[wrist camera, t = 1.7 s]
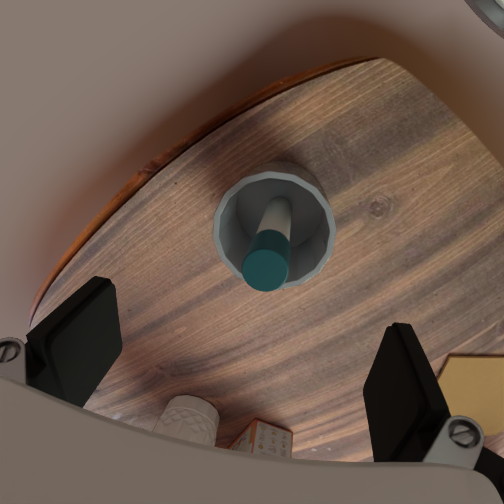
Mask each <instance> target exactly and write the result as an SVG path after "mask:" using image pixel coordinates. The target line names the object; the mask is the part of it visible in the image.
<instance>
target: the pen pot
mask: <svg viewBox="0 0 504 504" xmlns="http://www.w3.org/2000/svg"><path fill="white" fill-rule="evenodd" d="M275 197H283V198H285V199H287V200H288V201H289V202H290V204H291V206H292V214H291V227H290V239H289V243H290V263H289V274H288V278H287V280H286V282H285V283H284V284H283V285H282V286H281V287H280V288H278V290H279V289H284V288H288V287H293V286H298V285H301V284H302V283H304V282H305V281H307V280H309V279H310V278H312V277H313V276H315V275H316V274H318V273H319V272H320V271H321V269H322V268H323V266H324V265H325V263H326V262H327V260H328V259H329V258H330V256H331V255H332V251H333V246H334V241H335V236H336V226H335V222H334V217H333V213H332V209H331V206H330V204H329V201H328V199H327V197H326V194H325V192H324V190H323V188H322V186H321V185H320V184H319V182H318V181H317V179H316V178H315V177H314V176H313V174H311V173H310V172H309V171H307V170H306V169H304V168H303V167H301V166H299V165H297V164H294V163H290V162H284V161H273V162H268V163H265V164H262V165H259V166H256V167H255V168H254V169H252V170H251V171H250V172H249V173H247V174H246V175H245V176H244V177H242V178H241V179H240V180H239V181H238V182H237V183H236V184H235V185H233V186H232V187H231V188H230V189H229V190H228V191H227V192H226V193H225V194H224V196H223V198H222V200H221V202H220V204H219V205H218V207H217V209H216V211H215V214H214V224H213V239H214V242H215V245H216V248H217V251H218V253H219V256H220V258H221V260H222V261H223V262H224V263H225V264H226V266H227V267H228V268H229V269H230V270H231V271H232V273H233V274H234V275H235V276H237V277H239V278H241V279H242V280H244V278H243V275H242V271H241V266H242V262H243V260H244V257H245V255H246V252H247V250H248V247H249V245H250V243H251V240H252V238H253V237H254V236H255V235H256V233H257V230H258V228H259V225H260V223H261V220H262V218H263V215H264V212H265V210H266V207H267V205H268V203H269V201H270V200H271V199H273V198H275ZM244 281H245V280H244ZM276 290H277V289H276Z"/></svg>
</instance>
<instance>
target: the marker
mask: <svg viewBox="0 0 504 504" xmlns="http://www.w3.org/2000/svg"><path fill="white" fill-rule="evenodd" d="M291 214H292V206H291V204H290V202H289V201H288V200H287V199H285V198H283V197H275V198H273V199H271V200H270V201H269V203H268V205H267V207H266V210H265V212H264V215H263V218H262V220H261V223H260V225H259V228H258V230H257V233H256V235H255V236H254V237H253V238H252V240H251V243H250V245H249V247H248V250H247V252H246V255H245V257H244V260H243V262H242V266H241V271H242V275H243V278H244V280H245V281H246V282H247V284H248V285H249V286H251V287H252V288H254V289H256V290H259V291H264V292H268V291H273V290H276V289H278V288H280V287H281V286H282V285H283V284H284V283H285V282H286V280H287V278H288V274H289V263H290V243H289V239H290V227H291Z"/></svg>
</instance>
